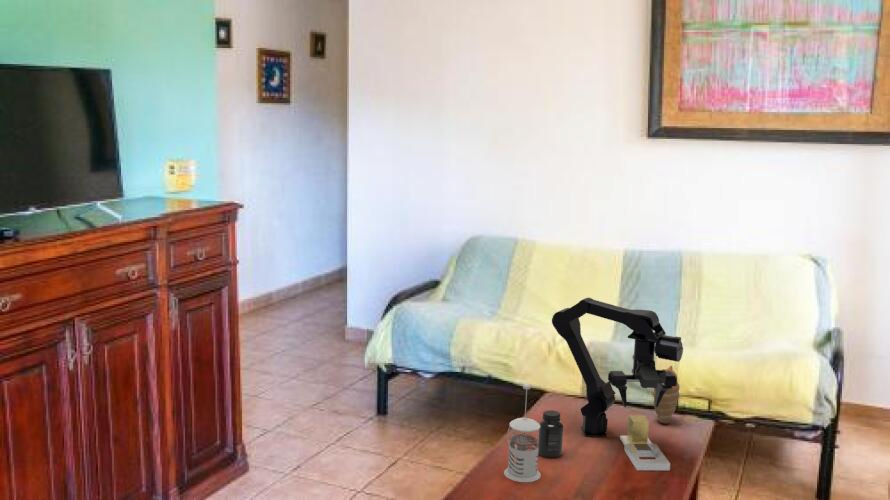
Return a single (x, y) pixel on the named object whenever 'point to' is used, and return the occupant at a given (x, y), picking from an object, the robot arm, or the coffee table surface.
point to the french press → (523, 450)
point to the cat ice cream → (667, 402)
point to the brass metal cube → (637, 429)
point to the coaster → (626, 441)
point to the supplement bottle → (550, 435)
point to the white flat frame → (647, 451)
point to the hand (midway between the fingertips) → (640, 406)
